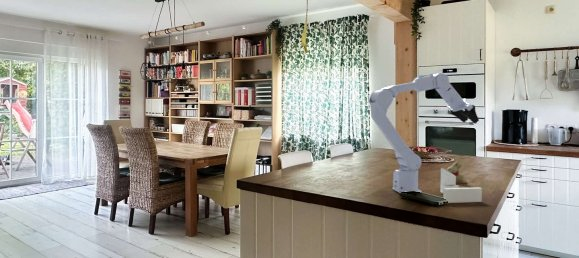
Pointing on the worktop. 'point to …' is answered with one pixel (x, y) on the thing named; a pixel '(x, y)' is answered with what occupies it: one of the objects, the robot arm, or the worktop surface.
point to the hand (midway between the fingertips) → (471, 121)
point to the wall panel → (463, 195)
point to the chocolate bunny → (457, 172)
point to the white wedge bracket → (447, 180)
